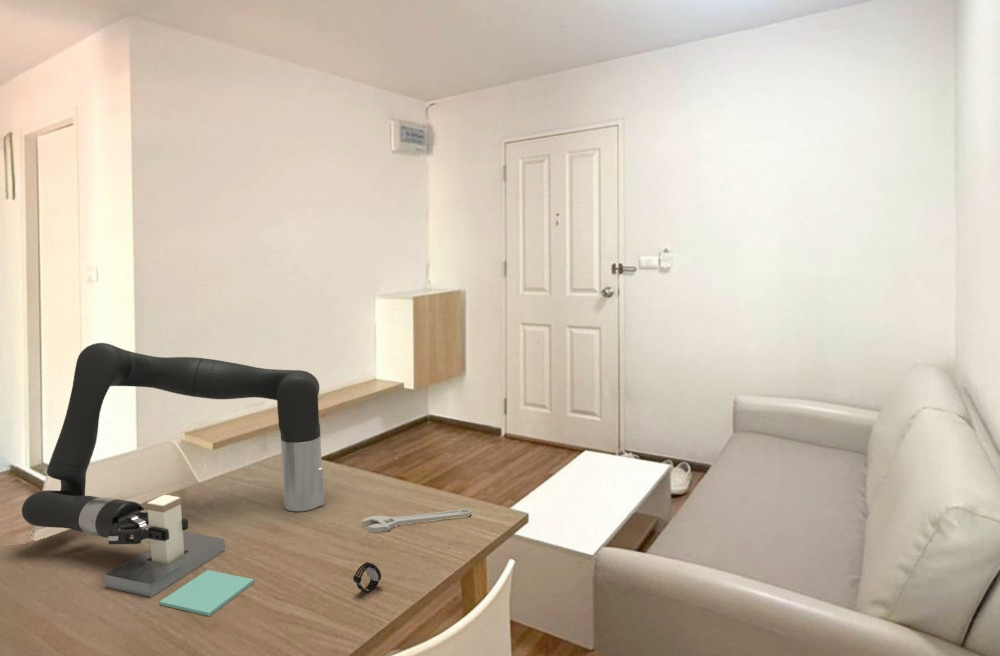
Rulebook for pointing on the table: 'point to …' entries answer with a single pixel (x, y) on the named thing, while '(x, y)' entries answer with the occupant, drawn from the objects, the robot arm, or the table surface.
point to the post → (168, 517)
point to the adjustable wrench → (408, 519)
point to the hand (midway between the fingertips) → (177, 529)
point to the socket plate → (163, 566)
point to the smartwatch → (372, 574)
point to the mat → (207, 592)
